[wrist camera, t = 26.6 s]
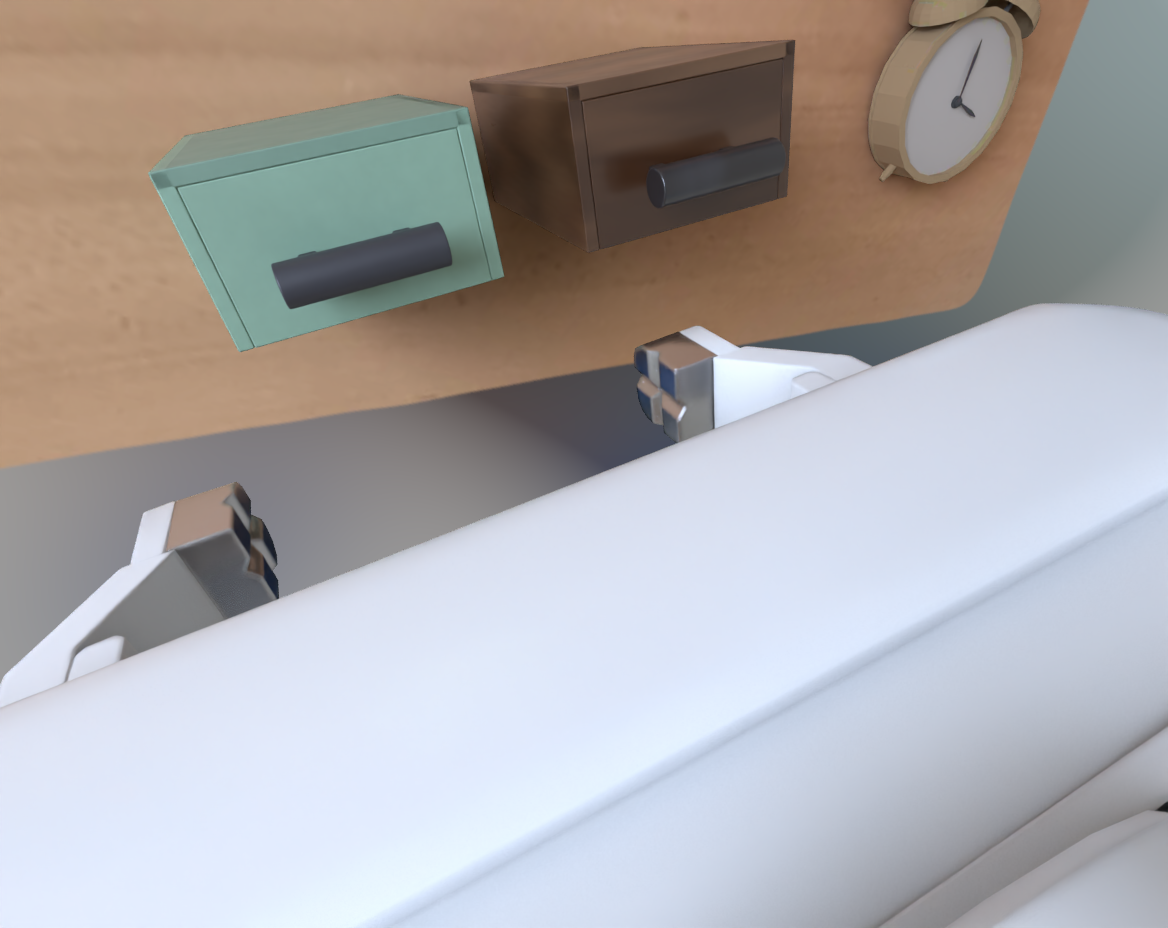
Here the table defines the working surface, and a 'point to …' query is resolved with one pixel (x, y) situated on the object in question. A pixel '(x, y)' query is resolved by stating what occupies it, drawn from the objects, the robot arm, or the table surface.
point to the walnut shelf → (639, 138)
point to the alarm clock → (948, 85)
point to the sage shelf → (331, 214)
